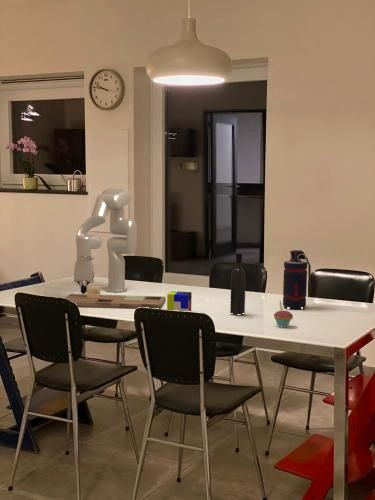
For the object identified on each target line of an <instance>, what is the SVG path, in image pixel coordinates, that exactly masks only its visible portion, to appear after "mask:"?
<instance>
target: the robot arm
mask: <svg viewBox="0 0 375 500" xmlns="http://www.w3.org/2000/svg"><path fill="white" fill-rule="evenodd" d="M131 200H132V193H131V191H130V190H129V189H126V188H106V189H103V190H102V193H101V194H99V195H97V197H96V199H95V203H94V206H93V209H92V212H91V215H90V217H88V219H86V220H85V221H84V222H83V223H82V224H81V225H80V227H79V228H78V230H77V232H76V233H77V234H76V237H75V244H76V261H75V262H74V268H73V269H74V271H73V283H76V284H78V285H79V286H80V293H81V294H87V288H88V287H87V286H88V285H90V284H93V283H94V282H95V281H94V279H95V271H94V264H93V261H94V257H93V256H92V250H97V249H100V248H101V247H102V245H103V239H102V238H101V236H100V235H97V234H88V232H89V231H91V230H92V229H94V228H97V227H98V226H101V225H103V224H105V223H106V221H107V220H108V219H107V218H108V215H109V232H110V233H111V234H113V235H119V236H111V237H110V238H108V239H107V242H106V248H107V249H106V250H107V257H108V267H107V268H108V270H107V271H108V273H107V274H108V283H107V284H108V286H107V287H106V288H105V292H109V293H123V292H128V288H127V287H125V278H126V275H125V274H126V268H125V267H126V261H125V258H124V256H123V255H134V254H135V253H136V251H137V246H138V245H137V244H138V242H137V241H138V225H137V222H136V220H134V218H133V219H132V218H126V216H125V208H124V207H125V206H127V205H128V204H130V202H131ZM123 236H124V237H123ZM125 236H126V237H125Z"/></svg>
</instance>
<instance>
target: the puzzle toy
mask: <svg viewBox="0 0 375 500" xmlns="http://www.w3.org/2000/svg"><path fill="white" fill-rule="evenodd" d="M166 295H167V296H166V299H167V301H166V311H167V310H179V311H191V312H192V291H178V290H177V291H173V290H171V291H170V292H168V294H166Z"/></svg>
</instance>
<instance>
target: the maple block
mask: <svg viewBox="0 0 375 500" xmlns="http://www.w3.org/2000/svg"><path fill="white" fill-rule="evenodd" d="M86 294H87V297H92V298H98V297H99V296H100V295H101V286H95V285H94V286H93V285H92V286H90V285H89V286H88V287H87V292H86Z"/></svg>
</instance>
